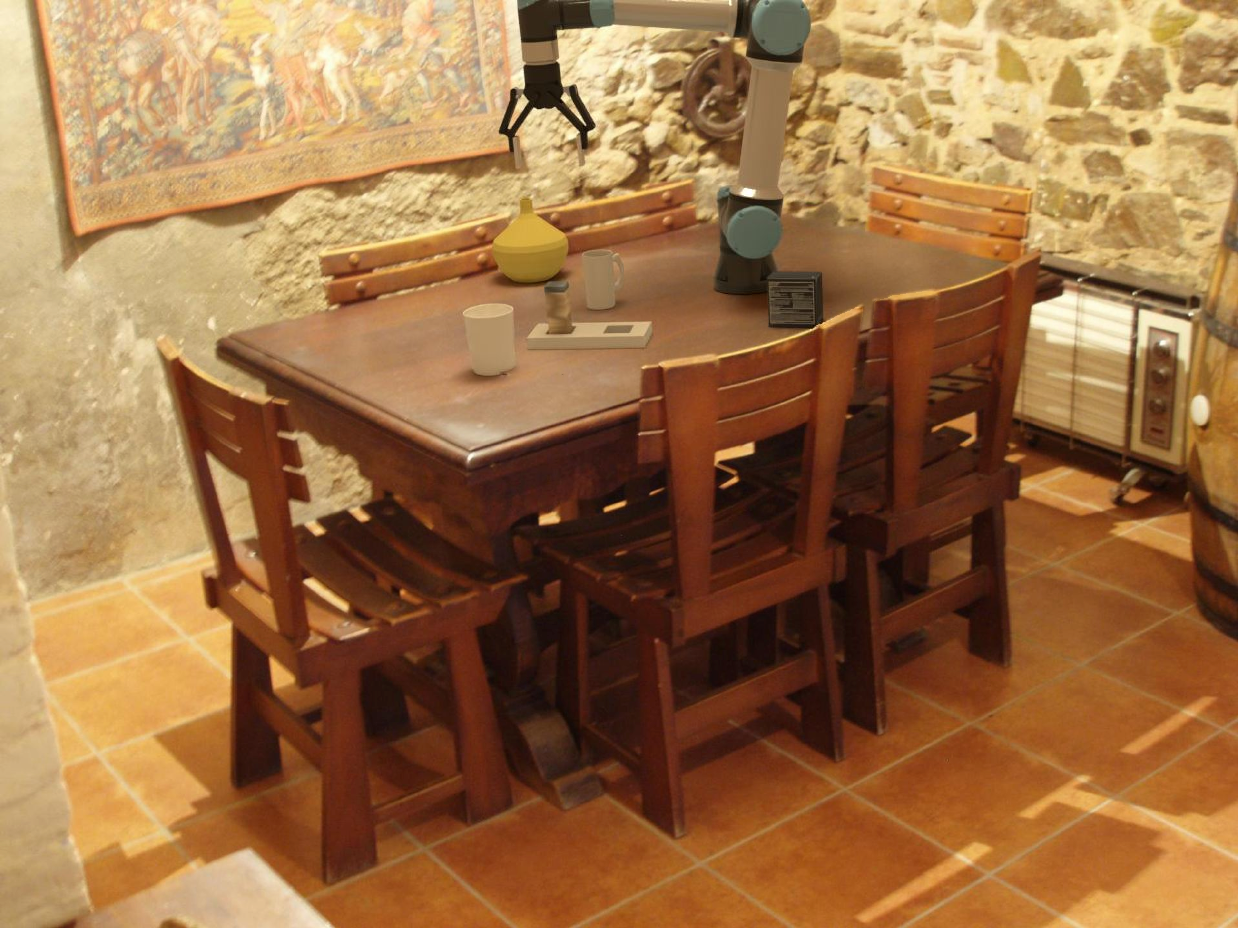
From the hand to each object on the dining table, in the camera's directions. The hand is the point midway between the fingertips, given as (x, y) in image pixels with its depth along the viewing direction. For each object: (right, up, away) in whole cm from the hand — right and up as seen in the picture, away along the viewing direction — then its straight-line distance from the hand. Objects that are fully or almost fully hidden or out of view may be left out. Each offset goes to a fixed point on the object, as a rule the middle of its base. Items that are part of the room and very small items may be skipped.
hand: (550, 166), depth 299 cm
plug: (+3, -37, -7) cm, 38 cm away
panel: (+9, -38, -8) cm, 40 cm away
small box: (+51, -34, -5) cm, 61 cm away
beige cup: (-10, -44, -19) cm, 49 cm away
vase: (-6, -18, +46) cm, 50 cm away
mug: (+12, -27, +19) cm, 35 cm away
